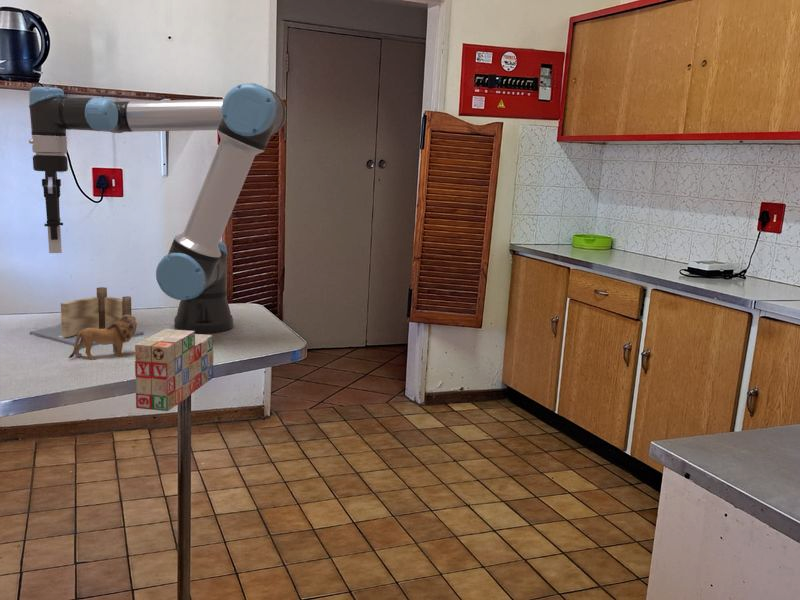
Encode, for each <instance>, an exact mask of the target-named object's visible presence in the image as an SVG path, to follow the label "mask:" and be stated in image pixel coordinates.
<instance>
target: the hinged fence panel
mask: <svg viewBox="0 0 800 600" xmlns="http://www.w3.org/2000/svg"><path fill="white" fill-rule="evenodd" d="M60 317H61V318H60V319H61V320H60V321H61V325H62V336H64V337H69V336H73V335H77V334H79V332H80V331H81V330H83V329H85V328H96V329H99V307H98V298H97V296H91V297H86V298H82V299H75V300H72V301H71V300H69V301H67V302H62V303H60Z"/></svg>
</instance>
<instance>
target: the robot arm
mask: <svg viewBox="0 0 800 600" xmlns="http://www.w3.org/2000/svg"><path fill="white" fill-rule="evenodd" d="M28 92H29V96H28V97H29V103H28V104H29V105H28V108H29V114H30V115H29V118H30V127H31V129H30V130H31V131H30V133H31V134H30V135H31V139H29V140H28V143H29V144H30V145H31V144H32V145H31V147H32V150H31V151H32V152H33V153H35V155H33V156H32V166H33V167H32V169H33V170H34V171H35V172H44V178H42V179H41V185H42V189H43V197H44V198H45V199H44V200H45V209H46V210H45V211H46V223H44V224H43V225H44V227H47V236H48V237H47V239H48V252H49V254H62V253H63V251H62V250H63V249H62V248H63V247H62V234H61V233H62V232H61V226H64V222H61V220H62V219H61V217H60V216H61V214H60V213H61V212H60V211H61V210H60V197H61V186H62V180H61V178H58V172H60V173H63V172H68V170H69V164H68V157H67V156H66V154H67V153H68V139H67V131H70V130H73V131H94V132H108V133H112V134H113V133H114V134H123V133H129V132H130V133H132V132H133V133H134V132H135V133H137V132H139V133H140V132H176V131H177V132H180V131H181V132H183V131H185V132H186V131H187V132H188V131H192V132H193V131H217V134H218V136H219V138H220V141H219V144H218V145H217V149H216V151H215V153H214V155H213V158H212V161H211V163H210V165H209V169H208V171H207V173H206V175H205V178H204V182H203V183H202V186H201V189H200V191H199V193H198V196H197V198H196V201H195V204H194V206H193V209H192V211H191V214H190V216H189V218H188V220H187V223H186V226H185V229H184V231H183V232H181V233H179V234H176V235H175V236H174V238H173V241H172V243H171V246H170V247H169V250H168V253H167V254H166V255H165V256H163V258H161V260H160V261H159V262H158V264H157V267H156V270H155V278H156V282H157V284H158V286H159V288H160V290H161V291H162V292H163V293H164V295H166V296H168V297H170V298H171V299H175V300H177V301H179V304H178V308H177V312H176V314H175V316H174V320H173V321H174V322H173V323H174V326H173V327H174V328H175V330H187V331H195V334H207V333H209V334H211V333H221V332H224V331H229V330H230V329H232V328H234V317H233V315H232V314H231V308H230V305H229V302H228V298H227V289H228V287H227V286H228V280H227V278H228V273H227V271H228V249H227V244H226V243H225V242H224V241H223V242H222V241H221V239H222V237H223V235H224V232H225V230H226V227H227V225H228V223H229V219H230V217H231V216H232V213H233V210H234V208H235V206H236V203H237V201H238V198H239V196H240V193H241V191H242V189H243V186H244V184H245V181H246V179H247V177H248V174H249V172H250V169H251V167H252V164H253V161H254V159H255V156H257V155H259V154H261V153H264V152H265V150H266V147H267V145H268V143H269V140H270V139H271V137H272V136H273V135H275V134H276V133H278V132H279V131H280V130H281V128H283V126H284V124H285V121H286V116H287V112H286V111H287V110H286V105H285V103H284V101H283V99H282V98H281V97H280V96H279V94H277V92H275V91H273V90H271V89H269V88H267V87H265V86H263V85H261V84H257V83H252V82H250V83H242V84H237V85H236V86H234V87H233V88H231V89H230V90H229V91H228V92H227V93H226V94H225V96H224V98H218V99H217V98H213V99H212V98H211V99H209V98H208V99H176V100H175V99H173V100H133V101H130V100H129V101H128V100H127V101H126V100H125V101H123V100H121V101H113V100H112V99H110V98H104V97H69V96H66V95H65V92H64V90H63V89H62V88H59V87H51V86H49V87H48V86H47V87H46V86H33V87H31V88H30V90H29V91H28Z"/></svg>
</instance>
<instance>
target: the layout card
mask: <svg viewBox="0 0 800 600" xmlns="http://www.w3.org/2000/svg"><path fill="white" fill-rule="evenodd" d="M29 335H33V336H37V337H40V338H45V339H48V340H51V341H56V342H59V343H63V344H67V345H71V346H75V341H76V338H77V336H78V334H77V335H73V336H69V337H64V336H62V324H61V325H57V326H51V327H47V328H41V329H36V330H30V331H29ZM142 335H144V331H140V330H137V329H136V331H135V334H134V335H133V336H132V337H131V338H133V337H138V336H142ZM80 341H81V337H80V339H79V342H78V344H79V343H80ZM97 345H99V344H98V343H96V342H94V341H93V345H92V347H93V346H97ZM83 348H86V346H84V347H83ZM83 348H82V349H83Z"/></svg>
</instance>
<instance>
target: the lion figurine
mask: <svg viewBox="0 0 800 600" xmlns="http://www.w3.org/2000/svg"><path fill="white" fill-rule="evenodd" d="M131 315H132V314H131ZM131 315H124V316H122V317H120V319H119V321H117V322H115V323H113V324H112V325H111V326H110V327H108V328H107V329H96V328H85V329H83V330H81V331H80V332H79V334H78V336H77V338H76V341H75V346H74V345H73V346H74V348H73V351H72V353H71V354H70V355H69V356H68V358H69V359H72V358H73V357H77V358H78V357H79V358H80V357H82V356H83V354H82V353H81V352H80V350H81V349H83V347H84V346H86V347H84V348H85V352H84V353H85V355H86V356H87V357H88V358H89V360H96V356H95V355H92V354H91V350H92V347H93V346H94V345H93V341H94V342H96V343H98V345H102V346H103V345H104V346H105V345H106V346H107V345H112V352H113V354H114V355H117V356H118V358H123V357H125V354H124V353H122V352H123V345H124V343H128V342H129V341H131V340H132V338H133V337H132V336H133V335H134V334H135V331H136V330H137V326H138V325H137V322H136V321H137V319H136V316H133V315H132V316H131ZM80 337H81V341H80V343H79V344H78V342H79V339H80ZM92 345H93V346H92Z"/></svg>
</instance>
